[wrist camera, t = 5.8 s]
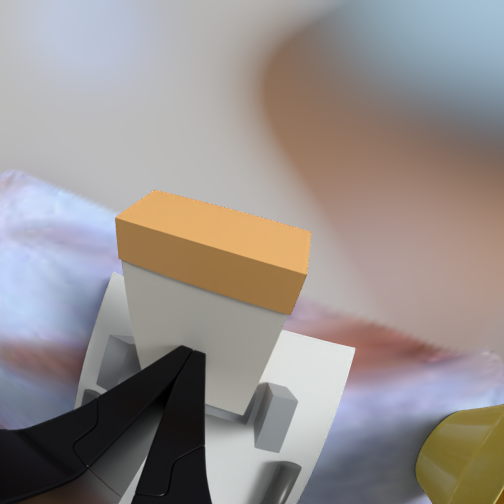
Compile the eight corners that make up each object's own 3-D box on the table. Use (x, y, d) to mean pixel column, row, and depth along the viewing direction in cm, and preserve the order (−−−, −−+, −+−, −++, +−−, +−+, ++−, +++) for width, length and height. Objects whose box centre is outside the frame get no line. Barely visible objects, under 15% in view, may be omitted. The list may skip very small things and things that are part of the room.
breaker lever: (242, 430, 11) (318, 278, 5) (142, 394, 11) (107, 215, 6) (252, 398, 12) (320, 235, 7) (158, 365, 13) (148, 188, 7)
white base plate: (262, 547, 10) (265, 589, 5) (75, 476, 11) (37, 499, 6) (346, 347, 15) (385, 348, 10) (123, 277, 16) (81, 252, 11)
